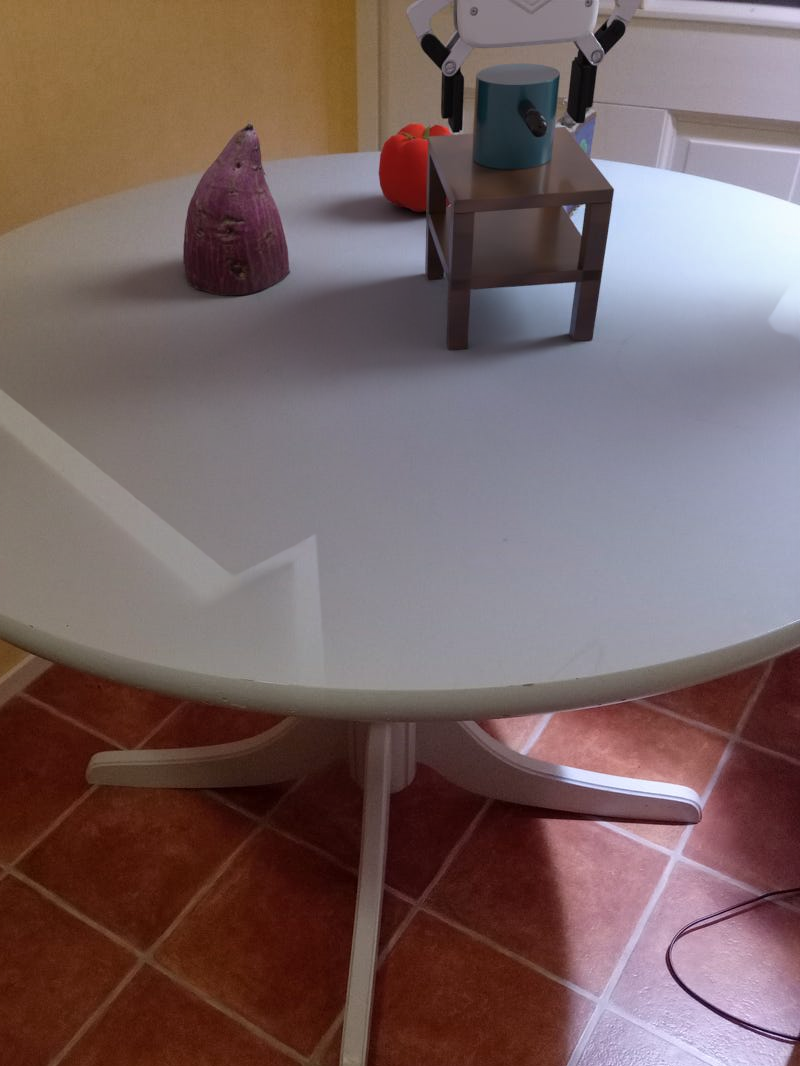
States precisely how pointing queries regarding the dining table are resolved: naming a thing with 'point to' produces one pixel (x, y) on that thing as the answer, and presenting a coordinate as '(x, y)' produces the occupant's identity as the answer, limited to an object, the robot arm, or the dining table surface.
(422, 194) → the red capsicum
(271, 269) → the vegetable
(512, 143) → the saucepan
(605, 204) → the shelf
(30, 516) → the dining table surface
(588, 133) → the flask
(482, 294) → the dining table surface
